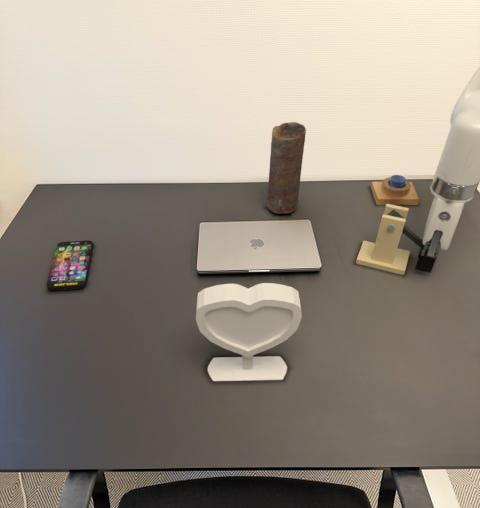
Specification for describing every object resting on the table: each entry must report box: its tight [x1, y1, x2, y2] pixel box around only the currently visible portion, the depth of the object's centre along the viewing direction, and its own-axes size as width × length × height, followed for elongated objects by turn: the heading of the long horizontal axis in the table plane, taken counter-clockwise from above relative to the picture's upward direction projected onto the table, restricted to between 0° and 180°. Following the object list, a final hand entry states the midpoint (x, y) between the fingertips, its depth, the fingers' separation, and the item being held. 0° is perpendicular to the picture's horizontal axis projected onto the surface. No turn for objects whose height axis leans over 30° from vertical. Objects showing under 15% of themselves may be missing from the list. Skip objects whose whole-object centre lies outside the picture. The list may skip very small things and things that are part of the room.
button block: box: [370, 176, 420, 206], centre depth 116 cm, size 10×8×4 cm
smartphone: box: [46, 240, 94, 292], centre depth 98 cm, size 8×1×15 cm
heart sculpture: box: [195, 282, 303, 382], centre depth 73 cm, size 16×5×18 cm, turn 91°
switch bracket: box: [355, 204, 411, 276], centre depth 96 cm, size 10×7×12 cm
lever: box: [387, 209, 440, 256], centre depth 94 cm, size 13×3×3 cm
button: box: [389, 174, 407, 188], centre depth 114 cm, size 4×4×2 cm
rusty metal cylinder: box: [266, 121, 307, 215], centre depth 106 cm, size 8×7×20 cm
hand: (424, 263), depth 97 cm, fingers closed on lever, 3 cm apart
